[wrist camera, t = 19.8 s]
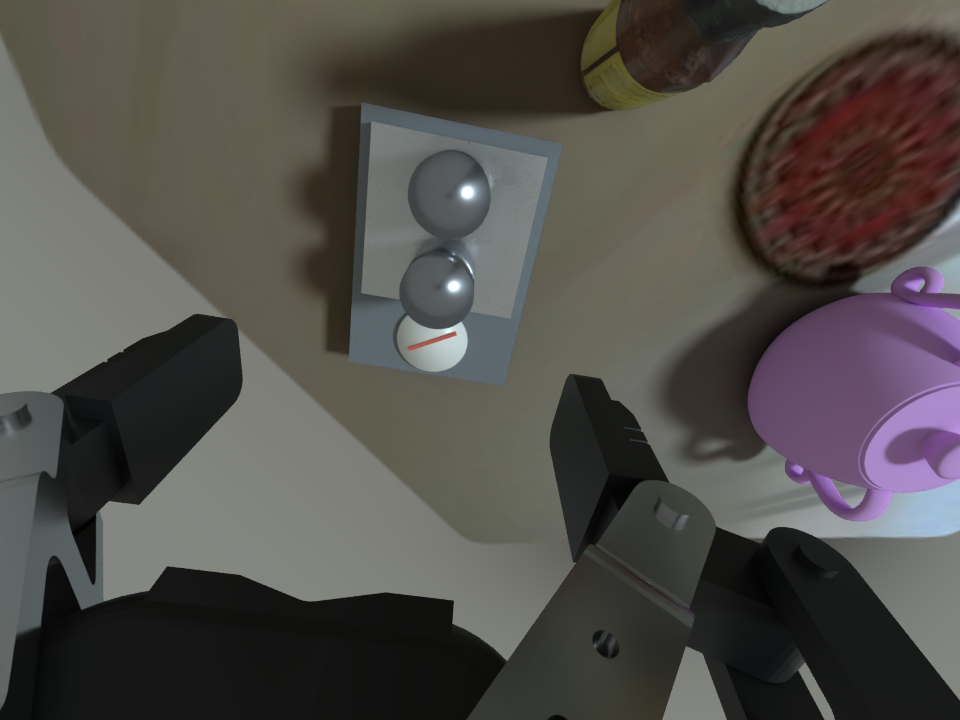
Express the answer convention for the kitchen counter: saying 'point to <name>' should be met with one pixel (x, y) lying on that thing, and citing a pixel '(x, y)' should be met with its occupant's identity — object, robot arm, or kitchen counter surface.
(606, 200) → the kitchen counter surface
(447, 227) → the cylinder
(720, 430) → the kitchen counter surface
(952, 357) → the teapot
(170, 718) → the robot arm
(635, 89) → the sauce bottle
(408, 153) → the pan
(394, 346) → the scale
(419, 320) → the cylinder
